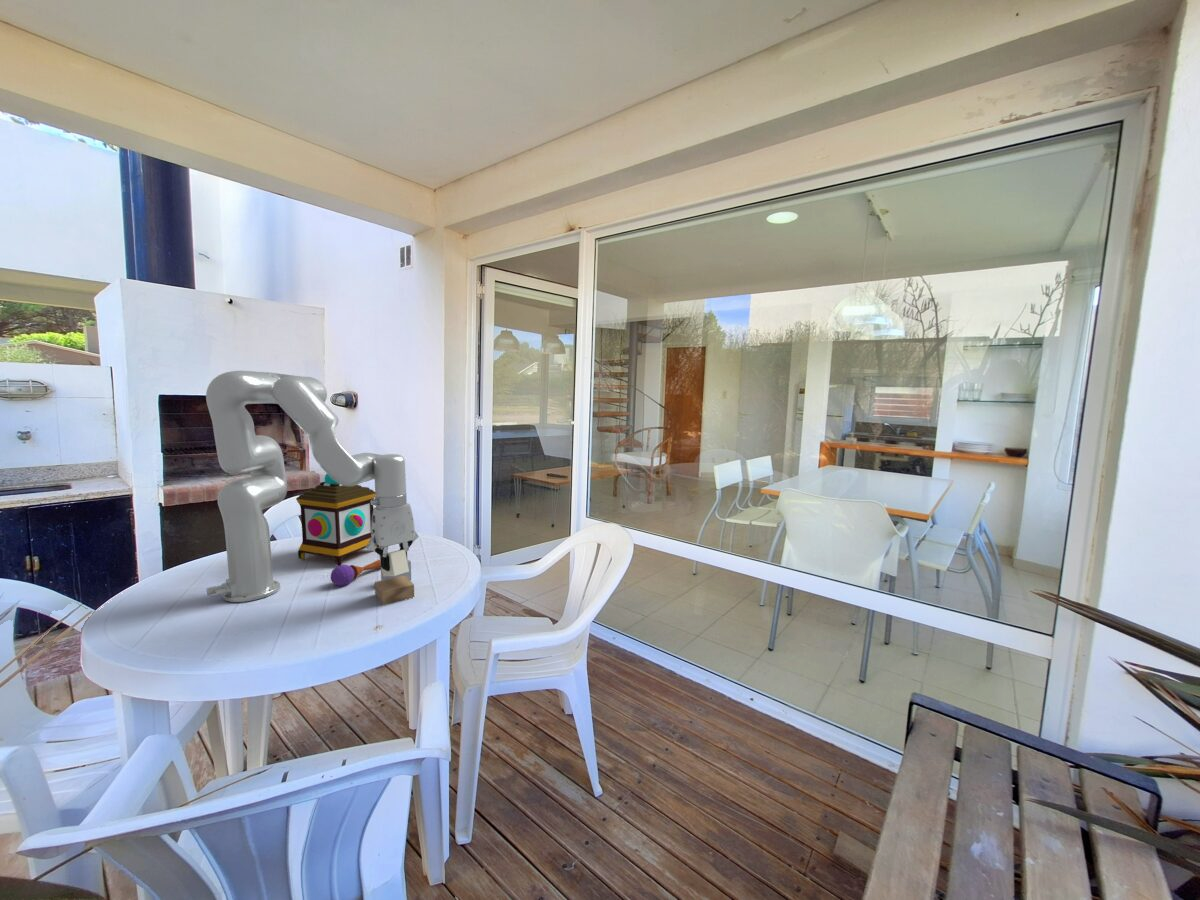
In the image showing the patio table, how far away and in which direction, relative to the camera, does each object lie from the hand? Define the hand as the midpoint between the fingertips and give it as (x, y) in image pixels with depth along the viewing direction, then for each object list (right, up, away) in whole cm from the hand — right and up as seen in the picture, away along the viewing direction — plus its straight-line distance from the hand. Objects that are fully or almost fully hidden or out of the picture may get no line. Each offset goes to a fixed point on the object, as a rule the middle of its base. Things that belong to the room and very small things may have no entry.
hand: (394, 566), depth 128 cm
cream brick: (+1, -2, 0) cm, 2 cm away
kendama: (-16, -7, +15) cm, 22 cm away
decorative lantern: (-32, -4, +32) cm, 45 cm away
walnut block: (0, -9, +1) cm, 9 cm away
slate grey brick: (-4, -7, +11) cm, 13 cm away
